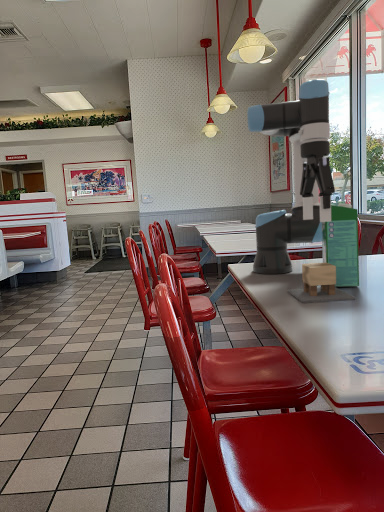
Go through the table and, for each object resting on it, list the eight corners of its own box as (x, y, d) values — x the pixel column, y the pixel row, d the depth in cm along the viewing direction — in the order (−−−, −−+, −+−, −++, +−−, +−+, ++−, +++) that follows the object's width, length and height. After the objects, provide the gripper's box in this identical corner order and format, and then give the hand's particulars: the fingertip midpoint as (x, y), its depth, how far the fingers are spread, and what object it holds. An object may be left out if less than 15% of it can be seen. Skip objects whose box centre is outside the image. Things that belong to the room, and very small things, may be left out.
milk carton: (359, 286, 113) (357, 201, 112) (327, 286, 115) (324, 203, 113) (352, 282, 122) (351, 203, 120) (323, 282, 124) (321, 205, 122)
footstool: (302, 291, 111) (302, 264, 110) (326, 289, 112) (326, 262, 111) (310, 296, 105) (310, 267, 104) (336, 294, 105) (335, 266, 104)
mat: (287, 291, 115) (287, 289, 115) (333, 288, 115) (333, 286, 115) (302, 302, 101) (302, 300, 101) (354, 299, 101) (354, 297, 101)
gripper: (288, 149, 116) (290, 219, 119) (317, 134, 91) (319, 223, 94) (312, 147, 116) (314, 217, 119) (348, 132, 91) (349, 221, 94)
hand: (316, 220), depth 106 cm, fingers open, 13 cm apart
